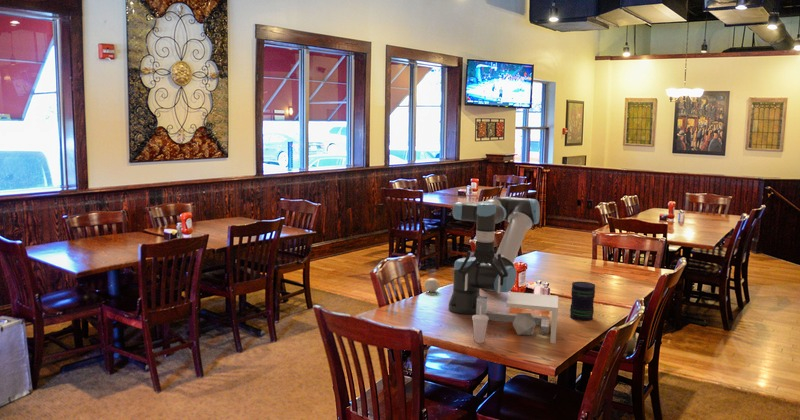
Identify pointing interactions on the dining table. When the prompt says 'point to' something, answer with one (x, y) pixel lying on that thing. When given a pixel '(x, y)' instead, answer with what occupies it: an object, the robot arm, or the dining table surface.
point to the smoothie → (479, 327)
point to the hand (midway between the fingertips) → (482, 291)
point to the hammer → (508, 315)
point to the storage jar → (582, 301)
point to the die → (524, 323)
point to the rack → (536, 306)
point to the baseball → (431, 284)
